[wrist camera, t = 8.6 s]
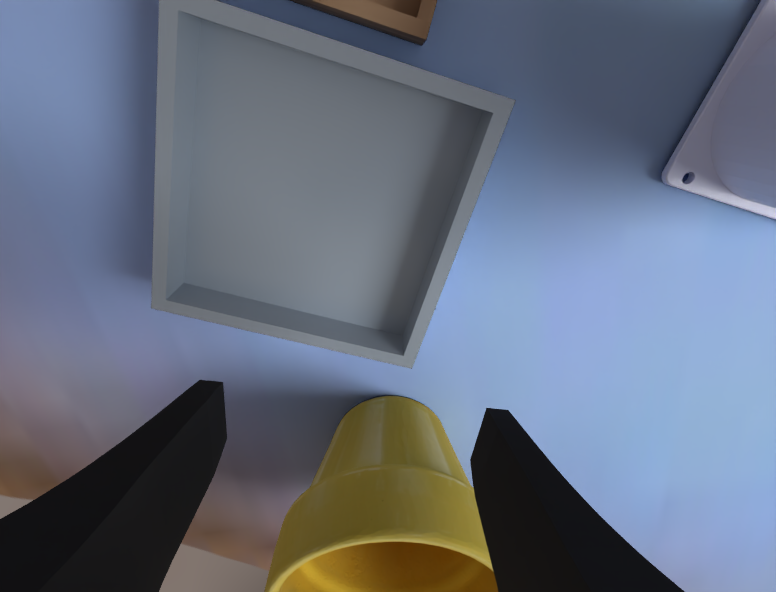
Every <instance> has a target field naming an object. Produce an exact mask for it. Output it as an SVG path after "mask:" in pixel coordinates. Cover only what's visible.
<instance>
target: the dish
mask: <svg viewBox="0 0 776 592" xmlns="http://www.w3.org/2000/svg"><path fill="white" fill-rule="evenodd" d="M515 101H516V100H513V99H510V98H507V97H504V96H501V95H498V94H495V93H492V92H489V91H486V90H483V89H480V88H477V87H474V86H471V85H468V84H465V83H462V82H459V81H456V80H453V79H450V78H447V77H444V76H441V75H438V74H435V73H432V72H429V71H426V70H423V69H420V68H417V67H414V66H411V65H408V64H405V63H402V62H399V61H396V60H393V59H390V58H387V57H384V56H381V55H378V54H375V53H372V52H369V51H366V50H363V49H360V48H357V47H354V46H351V45H348V44H345V43H342V42H339V41H336V40H333V39H330V38H327V37H324V36H321V35H318V34H315V33H312V32H309V31H306V30H303V29H300V28H297V27H294V26H291V25H288V24H285V23H282V22H279V21H276V20H273V19H270V18H267V17H264V16H261V15H258V14H255V13H252V12H249V11H246V10H243V9H240V8H237V7H234V6H231V5H228V4H225V3H222V2H219V1H216V0H159V22H158V62H157V102H156V142H155V181H154V221H153V261H152V301H151V308H152V309H156V310H161V311H165V312H169V313H174V314H178V315H182V316H187V317H191V318H195V319H200V320H204V321H208V322H213V323H217V324H221V325H225V326H230V327H234V328H238V329H243V330H247V331H251V332H256V333H260V334H264V335H269V336H273V337H277V338H282V339H286V340H290V341H294V342H299V343H303V344H307V345H312V346H316V347H320V348H325V349H329V350H333V351H338V352H342V353H346V354H351V355H355V356H359V357H364V358H368V359H372V360H376V361H381V362H385V363H389V364H394V365H398V366H402V367H407V368H411V369H412V367H413V364H414V362H415V359H416V356H417V354H418V351H419V349H420V346H421V344H422V341H423V338H424V336H425V333H426V331H427V328H428V325H429V323H430V320H431V318H432V315H433V313H434V310H435V307H436V305H437V302H438V300H439V297H440V294H441V292H442V289H443V287H444V284H445V282H446V279H447V276H448V274H449V271H450V269H451V266H452V264H453V261H454V258H455V256H456V253H457V251H458V248H459V245H460V243H461V240H462V238H463V235H464V233H465V230H466V227H467V225H468V222H469V220H470V217H471V214H472V212H473V209H474V207H475V204H476V202H477V199H478V196H479V194H480V191H481V189H482V186H483V183H484V181H485V178H486V176H487V173H488V171H489V168H490V165H491V163H492V160H493V158H494V155H495V152H496V150H497V147H498V145H499V142H500V140H501V137H502V134H503V132H504V129H505V127H506V124H507V121H508V119H509V116H510V114H511V111H512V109H513V106H514V103H515Z"/></svg>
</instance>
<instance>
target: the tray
mask: <svg viewBox="0 0 776 592" xmlns="http://www.w3.org/2000/svg"><path fill="white" fill-rule="evenodd" d="M290 1H293V2H295V3H298V4H301V5H304V6H307V7H310V8H313V9H316V10H319V11H322V12H325V13H328V14H331V15H334V16H336V17H339V18H342V19H345V20H348V21H351V22H354V23H357V24H360V25H363V26H366V27H369V28H372V29H375V30H378V31H380V32H383V33H386V34H389V35H392V36H395V37H398V38H401V39H404V40H407V41H410V42H413V43H416V44H419V45H421V46H422V45H423V43H424V42H425V41H426V39H427V35H428V32H429V28H430V25H431V21H432V18H433V14H434V10H435V7H436V3H437V0H290Z"/></svg>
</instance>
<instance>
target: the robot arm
mask: <svg viewBox="0 0 776 592" xmlns="http://www.w3.org/2000/svg"><path fill="white" fill-rule="evenodd" d="M688 172H689V177H688V179H687V180H686V181H684V182H683V181H682V179H683V176H684V175H685V174H686V173H688ZM662 181H663V182H664V183H665V184H667V185H670V186H673V187H676V188H679V189H682V190H685V191H688V192H691V193H695V194H698V195H701V196H704V197H707V198H710V199H713V200H716V201H719V202H723V203H726V204H729V205H732V206H735V207H738V208H741V209H744V210H747V211H751V212H754V213H757V214H760V215H763V216H766V217H769V218H772V219H775V220H776V0H761V2H760V3H759V5H758V7H757V9H756V10H755V12H754V14H753V16H752V17H751V19H750V21H749V22H748V24H747V26H746V28H745V29H744V31H743V33H742V35H741V36H740V38H739V40H738V42H737V43H736V45H735V47H734V48H733V50H732V52H731V54H730V55H729V57H728V59H727V61H726V62H725V64H724V66H723V68H722V69H721V71H720V73H719V74H718V76H717V78H716V80H715V81H714V83H713V85H712V87H711V88H710V90H709V92H708V94H707V95H706V97H705V99H704V100H703V102H702V104H701V106H700V107H699V109H698V111H697V113H696V114H695V116H694V118H693V120H692V121H691V123H690V125H689V127H688V128H687V130H686V132H685V133H684V135H683V137H682V139H681V140H680V142H679V144H678V146H677V147H676V149H675V151H674V153H673V154H672V156H671V158H670V159H669V161H668V163H667V165H666V166H665V168H664V170H663V172H662ZM226 440H227V432H226V418H225V403H224V389H223V382H215V381H205V380H199V381H198V382H196V383H195V384H194V385H193V386H191V387H190V388H189V389H188V390H186V391H185V392H184V393H183V394H181V395H180V396H179V397H178V398H177V399H175V400H174V401H173V402H172V403H170V404H169V405H168V406H167V407H165V408H164V409H163V410H162V411H160V412H159V413H158V414H157V415H156V416H154V417H153V418H152V419H150V420H149V421H148V422H147V423H145V424H144V425H143V426H141V427H140V428H139V429H137V430H136V431H135V432H134V433H132V434H131V435H130V436H128V437H127V438H126V439H124V440H123V441H122V442H120V443H119V444H118V445H116V446H115V447H113V448H112V449H111V450H109V451H108V452H106V453H105V454H104V455H102V456H101V457H99V458H98V459H97V460H95V461H94V462H92V463H91V464H90V465H88V466H87V467H85V468H84V469H82V470H81V471H79V472H78V473H76V474H75V475H73V476H72V477H70V478H69V479H67V480H66V481H64V482H62V483H61V484H59V485H58V486H56V487H54V488H53V489H51V490H50V491H48V492H46V493H45V494H43V495H42V496H40V497H38V498H37V499H35V500H33V501H32V502H30V503H28V504H27V505H25V506H23V507H21V508H19V509H18V510H16V511H14V512H12V513H10V514H9V515H7V516H5V517H4V518H2V519H0V592H159V590H160V588H161V585H162V582H163V580H164V578H165V576H166V573H167V571H168V569H169V567H170V564H171V562H172V560H173V558H174V556H175V554H176V552H177V550H178V548H179V546H180V544H181V542H182V540H183V538H184V536H185V534H186V532H187V530H188V528H189V526H190V524H191V522H192V520H193V518H194V516H195V513H196V511H197V509H198V507H199V505H200V503H201V501H202V499H203V497H204V495H205V493H206V491H207V489H208V487H209V485H210V483H211V480H212V478H213V476H214V474H215V471H216V468H217V466H218V463H219V460H220V457H221V454H222V451H223V448H224V445H225V443H226ZM470 461H471V470H472V479H473V486H474V493H475V499H476V503H477V507H478V512H479V516H480V520H481V524H482V528H483V532H484V536H485V540H486V544H487V548H488V552H489V556H490V560H491V564H492V568H493V572H494V576H495V580H496V583H497V588H498V592H684V591H683V590H682V589H681V588H679V587H678V586H677V585H676V584H675V583H674V582H672V581H671V580H670V579H669V578H668V577H666V576H665V575H664V574H663V573H662V572H660V571H659V570H658V569H657V568H656V567H655V566H653V565H652V564H651V563H650V562H649V561H648V560H646V559H645V558H644V557H643V556H642V555H641V554H640V553H639V552H637V551H636V550H635V549H634V548H633V547H632V546H631V545H630V544H629V543H628V542H627V541H626V540H625V539H624V538H622V537H621V536H620V535H619V534H618V533H617V532H616V531H615V530H614V529H613V528H612V527H611V526H610V525H609V524H608V523H607V522H606V521H605V520H604V519H603V518H602V517H601V516H600V515H599V514H598V513H597V512H596V511H595V510H594V509H593V508H592V507H591V506H590V505H589V504H588V503H587V502H586V501H585V500H584V499H583V498H582V497H581V495H580V494H579V493H578V492H577V491H576V490H575V489H574V488H573V487H572V486H571V485H570V484H569V482H568V481H567V480H566V479H565V478H564V477H563V476H562V475H561V473H560V472H559V471H558V470H557V469H556V468H555V466H554V465H553V464H552V463H551V462H550V461H549V459H548V458H547V457H546V456H545V455H544V453H543V452H542V451H541V450H540V449H539V447H538V446H537V445H536V444H535V442H534V441H533V440H532V439H531V438H530V436H529V435H528V434H527V433H526V431H525V430H524V429H523V428H522V426H521V425H520V424H519V423H518V421H517V420H516V419H515V418H514V417H513V415H512V414H511V413H510V412H509V411H508V410H502V409H492V408H486V412H485V415H484V418H483V421H482V424H481V428H480V431H479V434H478V437H477V440H476V443H475V447H474V450H473V453H472V456H471V459H470Z"/></svg>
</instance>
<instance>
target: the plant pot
mask: <svg viewBox="0 0 776 592" xmlns="http://www.w3.org/2000/svg"><path fill="white" fill-rule="evenodd" d="M265 592H498V588H497V583H496V580H495V576H494V572H493V568H492V564H491V560H490V556H489V552H488V548H487V544H486V540H485V536H484V532H483V528H482V524H481V520H480V516H479V512H478V507H477V503H476V499H475V493H474V488H473V487H472V486H471V485H470V483H469V481H468V479H467V477H466V475H465V473H464V471H463V468H462V466H461V464H460V462H459V460H458V458H457V456H456V454H455V452H454V450H453V448H452V445H451V443H450V441H449V439H448V437H447V435H446V433H445V430H444V428H443V426H442V424H441V422H440V420H439V419H438V417H437V416H436V415H435V414H434V412H433V411H431V410H430V409H429V408H428V407H426V406H425V405H423V404H421V403H420V402H417V401H415V400H412V399H409V398H405V397H400V396H382V397H376V398H373V399H369V400H367V401H364V402H362V403H360V404H358V405H357V406H355V407H354V408H352V409H351V410H350V411H349V412H348V413H347V414H346V415H345V416H344V417H343V418H342V420H341V421H340V423H339V425H338V427H337V429H336V431H335V433H334V436H333V438H332V441H331V443H330V445H329V447H328V450H327V452H326V454H325V456H324V458H323V460H322V462H321V465H320V467H319V469H318V471H317V473H316V475H315V477H314V480H313V482H312V484H311V486H310V488H309V489H307V490H306V491H305V492H304V493H303V494H302V495H301V496H300V497H299V498H298V499H297V500H296V501H295V502H294V503H293V505H292V506H291V507H290V509H289V511H288V513H287V514H286V516H285V519H284V521H283V524H282V527H281V531H280V534H279V537H278V541H277V544H276V547H275V551H274V555H273V559H272V563H271V567H270V570H269V574H268V579H267V583H266V587H265Z"/></svg>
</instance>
